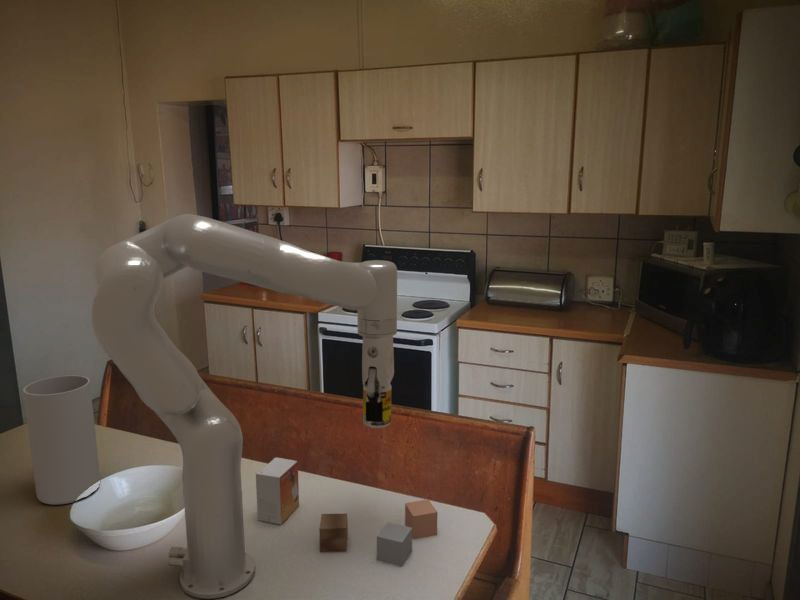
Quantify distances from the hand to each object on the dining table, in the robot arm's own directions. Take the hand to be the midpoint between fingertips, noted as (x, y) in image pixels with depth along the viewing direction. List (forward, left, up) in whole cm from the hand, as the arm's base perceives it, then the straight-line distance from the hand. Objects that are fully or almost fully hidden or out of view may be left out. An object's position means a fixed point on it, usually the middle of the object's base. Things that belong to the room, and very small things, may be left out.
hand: (377, 413), depth 119 cm
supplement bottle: (0, 0, -2) cm, 2 cm away
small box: (-21, 0, -24) cm, 31 cm away
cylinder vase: (-70, +2, -24) cm, 74 cm away
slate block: (+5, -11, -23) cm, 26 cm away
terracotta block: (+9, -2, -23) cm, 25 cm away
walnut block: (-7, -9, -23) cm, 26 cm away
